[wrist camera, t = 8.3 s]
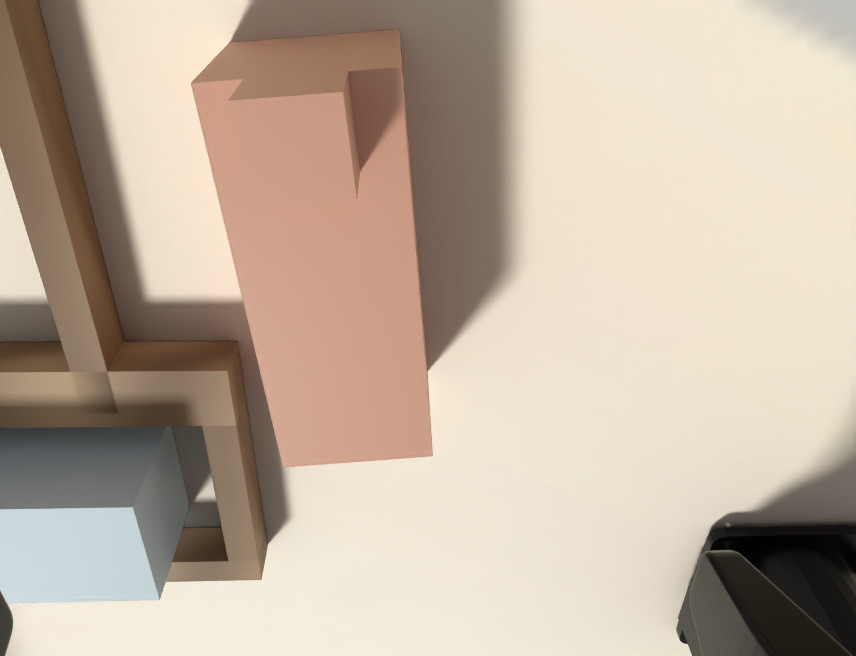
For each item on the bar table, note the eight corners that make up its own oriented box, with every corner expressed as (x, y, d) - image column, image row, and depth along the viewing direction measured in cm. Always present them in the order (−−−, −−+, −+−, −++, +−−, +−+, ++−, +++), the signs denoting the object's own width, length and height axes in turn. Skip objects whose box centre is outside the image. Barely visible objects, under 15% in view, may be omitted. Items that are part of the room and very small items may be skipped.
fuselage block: (399, 27, 17) (400, 87, 12) (427, 367, 22) (435, 497, 18) (231, 40, 17) (169, 105, 12) (299, 377, 22) (275, 510, 18)
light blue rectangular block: (171, 414, 23) (132, 507, 20) (191, 502, 25) (159, 599, 22) (-150, 417, 23) (-246, 512, 19) (-102, 506, 25) (-180, 606, 21)
